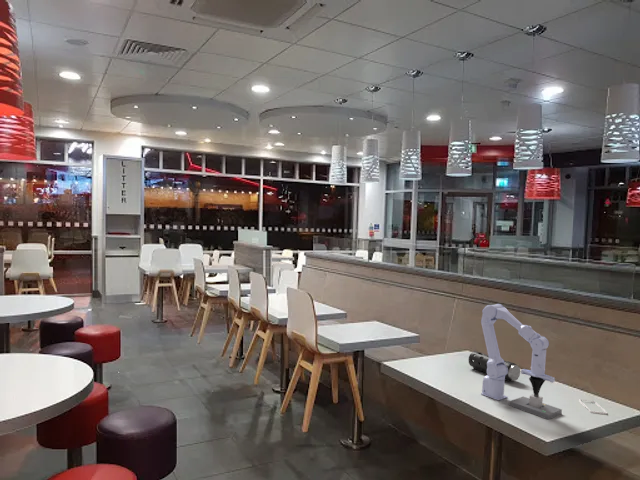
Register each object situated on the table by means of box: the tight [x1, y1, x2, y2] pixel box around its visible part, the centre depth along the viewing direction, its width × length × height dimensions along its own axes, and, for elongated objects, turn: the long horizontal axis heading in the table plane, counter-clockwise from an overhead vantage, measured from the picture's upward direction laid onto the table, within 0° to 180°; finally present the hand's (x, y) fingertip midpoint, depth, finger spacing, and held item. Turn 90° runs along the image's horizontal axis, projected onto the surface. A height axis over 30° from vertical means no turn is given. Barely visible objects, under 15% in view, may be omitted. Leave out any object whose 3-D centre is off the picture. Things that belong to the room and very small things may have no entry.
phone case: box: [578, 399, 608, 415], centre depth 222 cm, size 7×1×15 cm
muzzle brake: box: [468, 350, 521, 382], centre depth 263 cm, size 10×28×10 cm, turn 30°
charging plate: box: [508, 396, 563, 420], centre depth 215 cm, size 18×12×2 cm, turn 38°
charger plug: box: [528, 393, 544, 409], centre depth 215 cm, size 4×4×7 cm
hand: (536, 393), depth 215 cm, fingers closed
